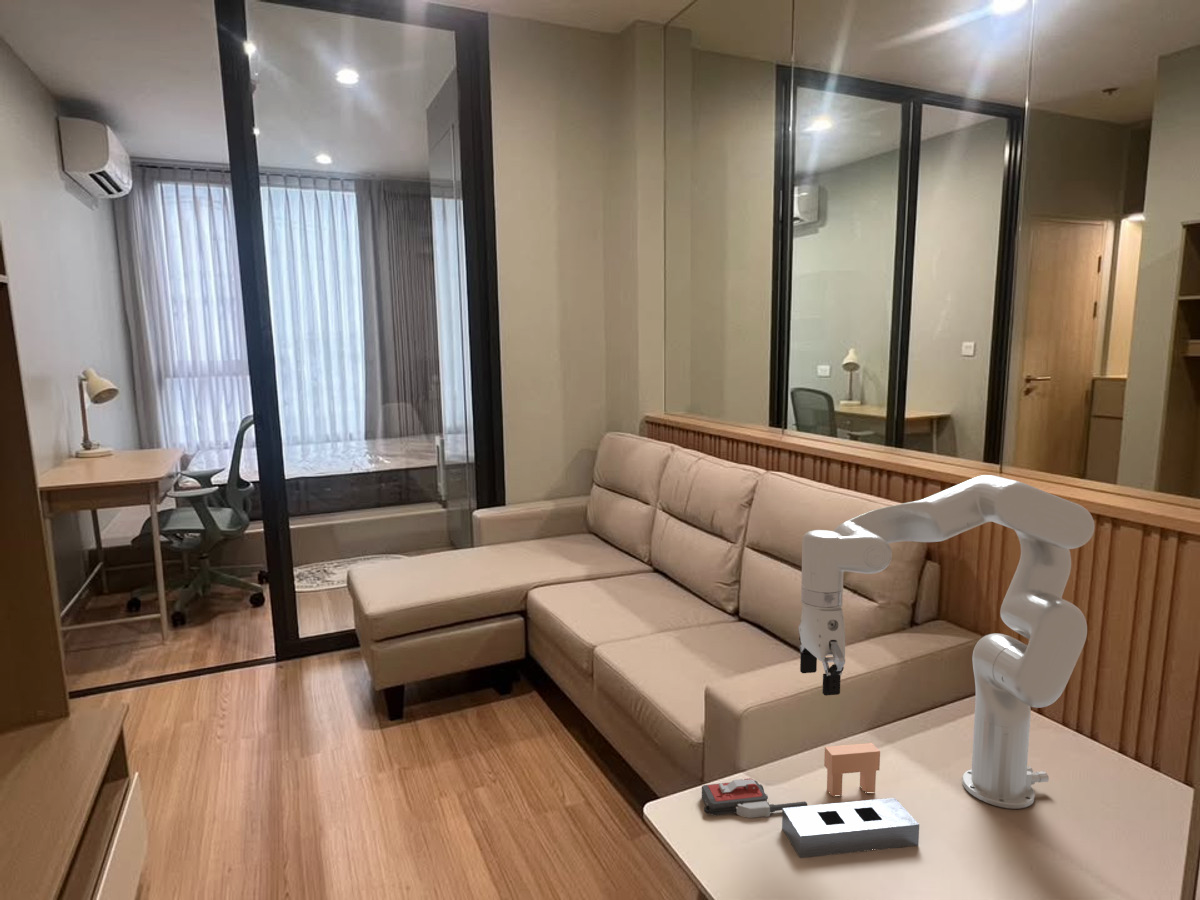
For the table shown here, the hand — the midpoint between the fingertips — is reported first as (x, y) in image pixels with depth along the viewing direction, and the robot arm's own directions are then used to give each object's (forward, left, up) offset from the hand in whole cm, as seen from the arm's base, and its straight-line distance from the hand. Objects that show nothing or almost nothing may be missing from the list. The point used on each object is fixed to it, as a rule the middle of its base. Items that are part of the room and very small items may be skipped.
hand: (819, 682), depth 137 cm
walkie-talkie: (+13, -1, -25) cm, 28 cm away
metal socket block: (-1, +11, -24) cm, 27 cm away
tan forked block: (-8, -2, -24) cm, 26 cm away
